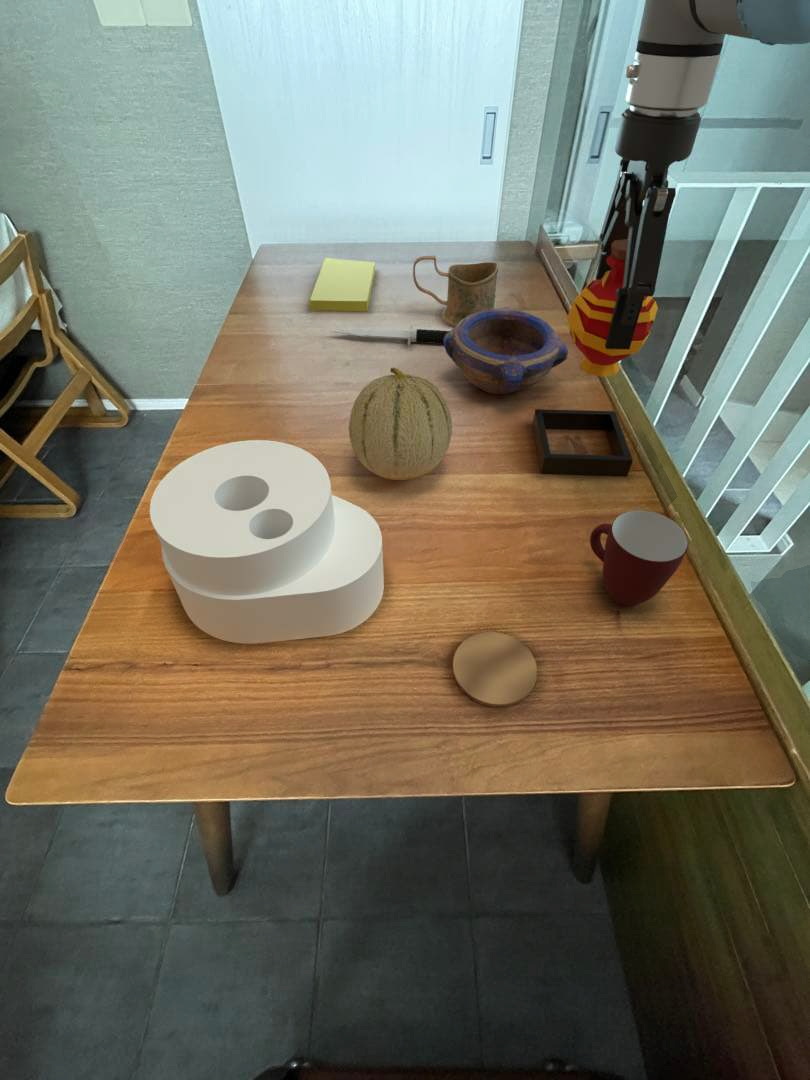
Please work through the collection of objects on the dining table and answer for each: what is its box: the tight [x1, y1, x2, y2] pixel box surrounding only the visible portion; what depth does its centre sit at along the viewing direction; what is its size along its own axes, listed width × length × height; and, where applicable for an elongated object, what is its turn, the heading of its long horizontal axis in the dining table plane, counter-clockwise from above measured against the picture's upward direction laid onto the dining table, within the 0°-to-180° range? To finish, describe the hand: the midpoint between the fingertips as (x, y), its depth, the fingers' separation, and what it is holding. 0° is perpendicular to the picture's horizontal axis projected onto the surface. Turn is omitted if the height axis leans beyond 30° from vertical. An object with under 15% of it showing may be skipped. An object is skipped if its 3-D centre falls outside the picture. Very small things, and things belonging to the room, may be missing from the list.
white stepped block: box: [149, 439, 385, 645], centre depth 67 cm, size 20×25×14 cm
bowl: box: [443, 306, 569, 395], centre depth 101 cm, size 18×18×10 cm
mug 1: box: [412, 255, 499, 328], centre depth 118 cm, size 12×18×12 cm, turn 88°
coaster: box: [452, 631, 538, 708], centre depth 63 cm, size 9×9×1 cm
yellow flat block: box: [309, 257, 376, 312], centre depth 132 cm, size 12×2×24 cm
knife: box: [329, 324, 450, 346], centre depth 115 cm, size 26×2×5 cm
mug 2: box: [589, 509, 689, 607], centre depth 67 cm, size 11×8×10 cm
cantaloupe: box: [348, 367, 453, 481], centre depth 82 cm, size 15×15×15 cm
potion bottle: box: [566, 239, 659, 378], centre depth 71 cm, size 10×10×15 cm
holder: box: [532, 408, 633, 477], centre depth 89 cm, size 13×13×3 cm
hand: (608, 326), depth 73 cm, fingers closed on potion bottle, 10 cm apart
